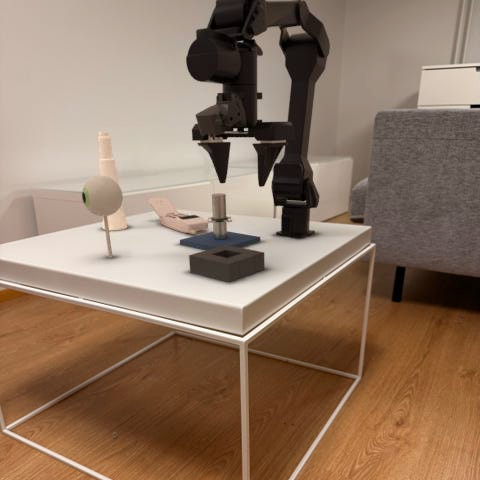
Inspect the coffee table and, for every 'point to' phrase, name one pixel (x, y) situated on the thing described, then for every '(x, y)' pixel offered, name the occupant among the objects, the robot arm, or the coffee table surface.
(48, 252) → the coffee table surface
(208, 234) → the mat
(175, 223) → the mobile phone
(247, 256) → the square hole block
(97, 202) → the eyeball on stick
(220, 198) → the bolted post stand
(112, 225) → the cosmetic bottle
